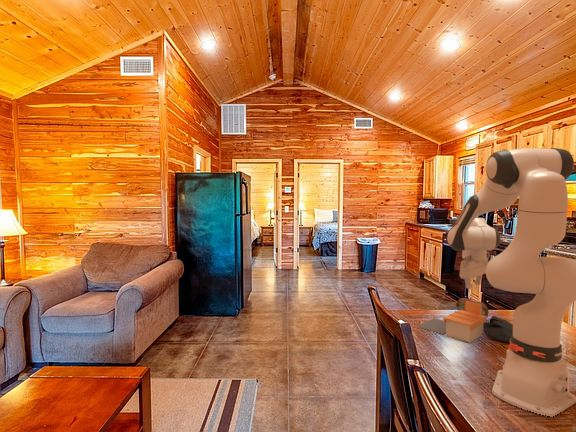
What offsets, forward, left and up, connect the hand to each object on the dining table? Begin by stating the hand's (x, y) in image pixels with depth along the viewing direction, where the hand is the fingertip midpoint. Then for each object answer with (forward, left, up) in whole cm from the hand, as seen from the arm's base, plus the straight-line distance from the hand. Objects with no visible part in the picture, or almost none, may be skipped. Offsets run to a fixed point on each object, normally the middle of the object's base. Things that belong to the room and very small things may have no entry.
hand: (473, 286), depth 136 cm
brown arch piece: (+17, +7, -19) cm, 27 cm away
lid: (-9, 0, -14) cm, 16 cm away
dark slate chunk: (+5, -10, -20) cm, 23 cm away
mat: (-8, +11, -19) cm, 23 cm away
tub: (-9, 0, -19) cm, 21 cm away
